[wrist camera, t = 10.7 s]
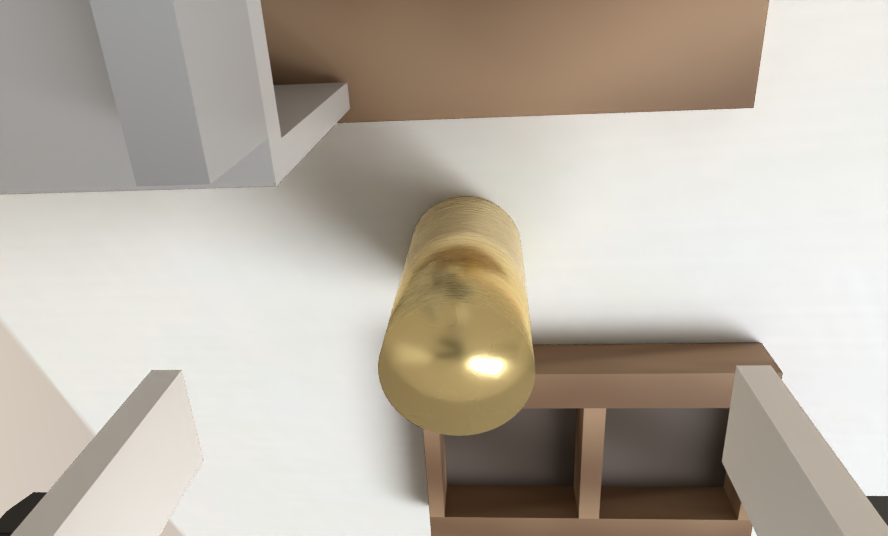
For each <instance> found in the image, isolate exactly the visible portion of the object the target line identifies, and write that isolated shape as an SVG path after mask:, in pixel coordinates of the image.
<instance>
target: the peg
mask: <svg viewBox="0 0 888 536" xmlns="http://www.w3.org/2000/svg"><path fill="white" fill-rule="evenodd" d="M378 373H379V379H380V383H381V386H382V389H383V391H384V393H385V395H386V397H387V399H388V400H389V402H390V403H391V405H392V406H393V407H394V408H395V409H396V410H397V411H398V412H399V413H400V414H401V415H402V416H403V417H405V418H406V419H407V420H409V421H410V422H412V423H413V424H415V425H417V426H419V427H421V428H423V429H426V430H429V431H432V432H435V433H439V434H445V435H454V436H465V435H474V434H480V433H483V432H487V431H490V430H492V429H495V428H497V427H499V426H501V425H503V424H504V423H506V422H507V421H509V420H510V419H512V418H513V417H514V416H515V415H516V414H517V413H518V412H519V411H520V410H521V409H522V407H523V406H524V405H525V403H526V402H527V400H528V398H529V397H530V394H531V392H532V389H533V385H534V381H535V361H534V353H533V344H532V335H531V326H530V318H529V309H528V300H527V291H526V283H525V274H524V265H523V256H522V248H521V240H520V235H519V232H518V230H517V227H516V225H515V224H514V222H513V220H512V219H511V218H510V216H509V215H508V214H507V213H506V212H505V211H504V210H502V209H501V208H500V207H499V206H497V205H495V204H493V203H492V202H489V201H487V200H484V199H481V198H476V197H455V198H451V199H447V200H445V201H442V202H440V203H438V204H436V205H435V206H433V207H432V208H430V209H429V210H428V211H427V212H426V213H425V214H424V215H423V216H422V217H421V219H420V220H419V222H418V223H417V225H416V227H415V230H414V233H413V236H412V240H411V243H410V247H409V251H408V254H407V258H406V262H405V265H404V269H403V272H402V276H401V280H400V283H399V287H398V290H397V294H396V298H395V301H394V305H393V309H392V312H391V316H390V319H389V323H388V327H387V330H386V334H385V338H384V341H383V345H382V348H381V352H380V356H379V363H378Z"/></svg>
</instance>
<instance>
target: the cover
mask: <svg viewBox="0 0 888 536" xmlns="http://www.w3.org/2000/svg"><path fill="white" fill-rule="evenodd" d="M349 109H350V103H349V93H348V84H347V82H341V83H316V84H292V85H273V80H272V73H271V67H270V60H269V54H268V47H267V41H266V34H265V28H264V21H263V15H262V8H261V2H260V0H0V194H32V193H67V192H101V191H136V190H171V189H205V188H240V187H274V186H277V185H278V184H279V183H280V182H281V181H282V180H283V179H284V178H285V177H286V176H287V175H288V174H289V173H290V171H291V170H292V169H293V168H294V167H295V166H296V165H297V164H298V163H299V162H300V161H301V160H302V159H303V158H304V157H305V156H306V155H307V154H308V152H309V151H310V150H311V149H312V148H313V147H314V146H315V145H316V144H317V143H318V142H319V141H320V140H321V139H322V138H323V137H324V136H325V134H326V133H327V132H328V131H329V130H330V129H331V128H332V127H333V126H334V125H335V124H336V123H337V122H338V121H339V120H340V119H341V118H342V117H343V115H344V114H345V113H346V112H347V111H348V110H349Z"/></svg>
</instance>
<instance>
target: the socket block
mask: <svg viewBox="0 0 888 536" xmlns="http://www.w3.org/2000/svg"><path fill="white" fill-rule="evenodd" d="M533 353H534V361H535V381H534V385H533V389H532V392H531V394H530V397H529V398H528V400H527V402H526V403H525V405H524V406H523V407H522V409H521V410H520V411H519V412H518V413H517V414H516V415H515V416H514V417H513V418H512V419H510V420H509V421H507V422H506V423H504V424H503V425H501V426H499V427H497V428H495V429H492V430H490V431H487V432H483V433H480V434H474V435H465V436H454V435H445V434H439V433H435V432H432V431H429V430H426V429H423V435H424V448H425V461H426V473H427V486H428V499H429V512H430V525H431V536H751V532H752V527H753V525H752V523H751V521H750V519H749V517H748V515H747V513H746V511H745V509H744V507H743V505H742V503H741V500H740V498H739V496H738V494H737V492H736V490H735V488H734V486H733V484H732V482H731V480H730V478H729V476H728V473H727V471H726V469H725V467H724V465H723V463H722V457H723V450H724V444H725V437H726V430H727V424H728V417H729V411H730V404H731V397H732V391H733V384H734V378H735V371H736V366H745V365H771V366H772V367H773V369H774V370H775V372H776V373H777V374H778V376H779V377H780V378H781V379H782V374H783V373H782V371H781V370H780V368H779V367H778V366H777V364H776V363H775V361H774V360H773V359H772V357H771V356H770V354H769V353H768V352H767V350H766V349H765V347H764V346H763V345H762V343H699V344H596V345H533Z"/></svg>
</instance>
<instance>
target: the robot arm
mask: <svg viewBox="0 0 888 536" xmlns="http://www.w3.org/2000/svg"><path fill="white" fill-rule="evenodd" d="M203 461H204V459H203V455H202V451H201V447H200V443H199V438H198V434H197V430H196V426H195V422H194V418H193V414H192V410H191V406H190V402H189V398H188V393H187V389H186V385H185V381H184V377H183V373H182V370H151V372H150V373H149V374H148V375H147V376H146V377H145V379H144V380H143V381H142V382H141V383H140V384H139V386H138V387H137V388H136V389H135V390H134V391H133V393H132V394H131V395H130V396H129V397H128V398H127V400H126V401H125V402H124V403H123V404H122V406H121V407H120V408H119V409H118V410H117V411H116V413H115V414H114V415H113V416H112V417H111V418H110V420H109V421H108V422H107V423H106V424H105V425H104V427H103V428H102V429H101V430H100V431H99V432H98V434H97V435H96V436H95V437H94V438H93V440H92V441H91V442H90V443H89V444H88V445H87V447H86V448H85V449H84V450H83V451H82V452H81V454H80V455H79V456H78V457H77V458H76V459H75V461H74V462H73V463H72V464H71V465H70V466H69V468H68V469H67V470H66V471H65V472H64V474H63V475H62V476H61V477H60V478H59V479H58V481H57V482H56V483H55V484H54V485H53V487H52V488H51V489H50V490H49V491H48V492H47V493H41V492H38V493H36V492H34V493H32V494H30V495H29V496H28V497H26V498H25V499H23V500H22V501H21V502H19V503H18V504H16V505H15V506H13V507H12V508H11V509H9V510H8V511H7V512H6V513H5V514H4V515H3V516H2V517H1V518H0V536H160V534H161V532H162V531H163V529H164V527H165V525H166V523H167V522H168V520H169V519H170V517H171V515H172V514H173V512H174V510H175V508H176V507H177V505H178V503H179V502H180V500H181V498H182V496H183V495H184V493H185V491H186V490H187V488H188V486H189V485H190V483H191V481H192V479H193V478H194V476H195V474H196V473H197V471H198V469H199V468H200V466H201V464H202V462H203ZM722 463H723V465H724V467H725V469H726V471H727V473H728V476H729V478H730V480H731V482H732V484H733V486H734V488H735V490H736V492H737V494H738V496H739V498H740V500H741V503H742V505H743V507H744V509H745V511H746V513H747V515H748V517H749V519H750V521H751V523H752V525H753V527H754V530H755V532H756V534H757V536H888V496H865V494H864V493H863V491H862V490H861V489H860V487H859V486H858V485H857V483H856V482H855V480H854V479H853V478H852V476H851V475H850V473H849V472H848V471H847V469H846V468H845V467H844V465H843V464H842V462H841V461H840V460H839V458H838V457H837V456H836V454H835V453H834V451H833V450H832V449H831V447H830V446H829V445H828V443H827V442H826V440H825V439H824V438H823V436H822V435H821V434H820V432H819V431H818V429H817V428H816V427H815V425H814V424H813V423H812V421H811V420H810V418H809V417H808V416H807V414H806V413H805V411H804V410H803V409H802V407H801V406H800V405H799V403H798V402H797V400H796V399H795V398H794V396H793V395H792V394H791V392H790V391H789V389H788V388H787V387H786V385H785V384H784V383H783V381H782V380H781V378H780V377H779V376H778V374H777V373H776V372H775V370H774V369H773V367H772V366H771V365H745V366H736V371H735V378H734V384H733V391H732V397H731V404H730V411H729V417H728V424H727V430H726V437H725V444H724V450H723V457H722Z"/></svg>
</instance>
